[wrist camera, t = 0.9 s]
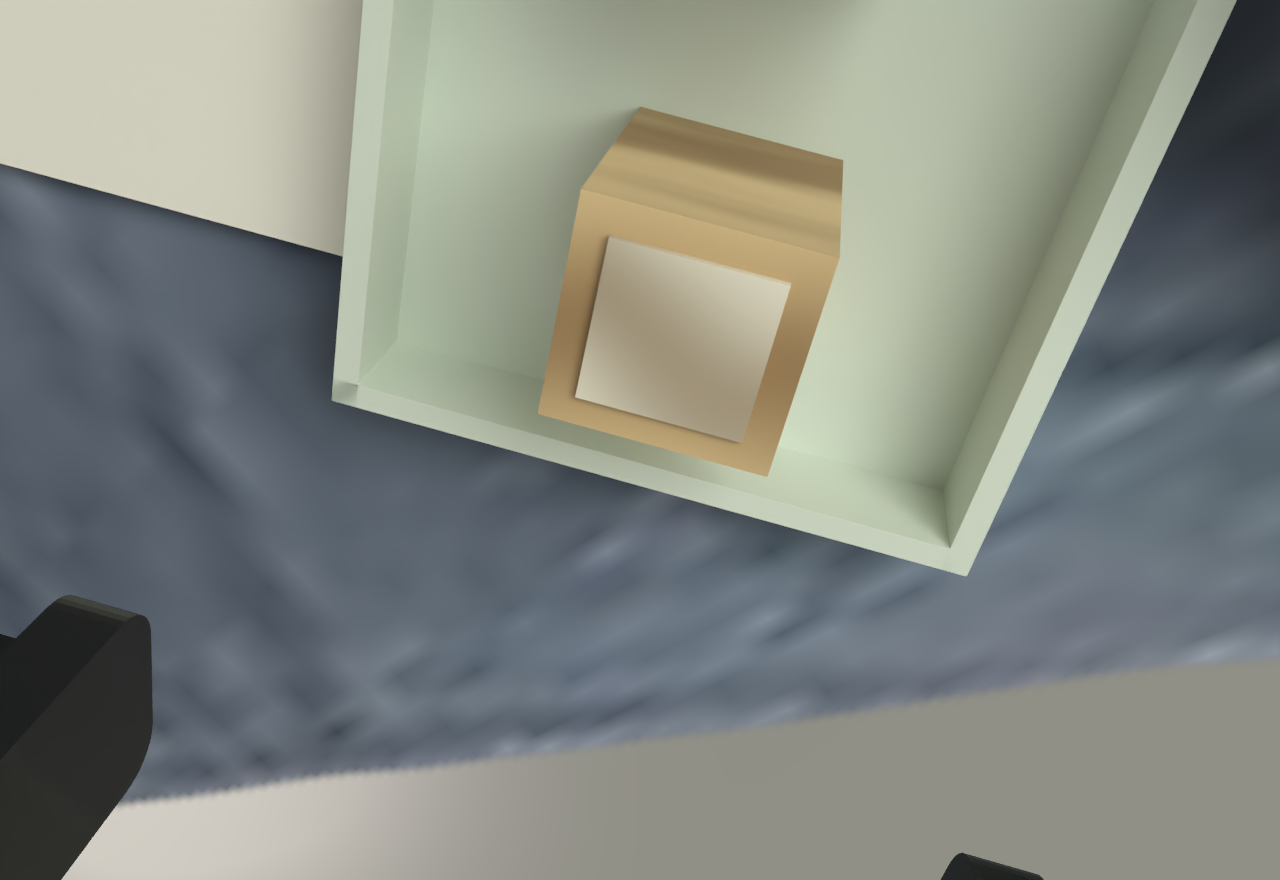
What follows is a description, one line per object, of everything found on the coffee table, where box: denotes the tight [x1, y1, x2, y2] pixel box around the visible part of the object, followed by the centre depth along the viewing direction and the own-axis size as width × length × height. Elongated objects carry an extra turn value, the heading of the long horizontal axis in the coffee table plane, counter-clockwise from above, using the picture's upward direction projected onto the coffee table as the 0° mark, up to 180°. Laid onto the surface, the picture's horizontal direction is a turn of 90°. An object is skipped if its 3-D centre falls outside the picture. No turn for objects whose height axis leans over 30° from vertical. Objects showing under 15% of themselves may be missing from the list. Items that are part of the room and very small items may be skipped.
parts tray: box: [332, 0, 1237, 576], centre depth 22 cm, size 20×15×3 cm
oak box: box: [538, 107, 843, 477], centre depth 22 cm, size 4×4×6 cm
